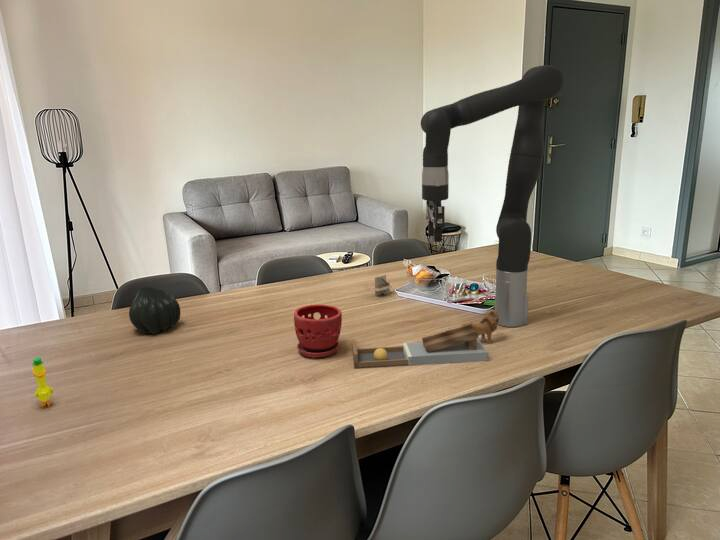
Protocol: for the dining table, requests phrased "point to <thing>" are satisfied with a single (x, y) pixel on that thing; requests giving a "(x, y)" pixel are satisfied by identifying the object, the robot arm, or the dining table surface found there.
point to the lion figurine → (486, 325)
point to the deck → (443, 354)
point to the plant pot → (317, 330)
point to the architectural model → (381, 285)
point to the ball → (380, 354)
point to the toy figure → (41, 382)
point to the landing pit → (367, 360)
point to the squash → (154, 310)
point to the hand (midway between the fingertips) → (434, 238)
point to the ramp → (452, 339)
